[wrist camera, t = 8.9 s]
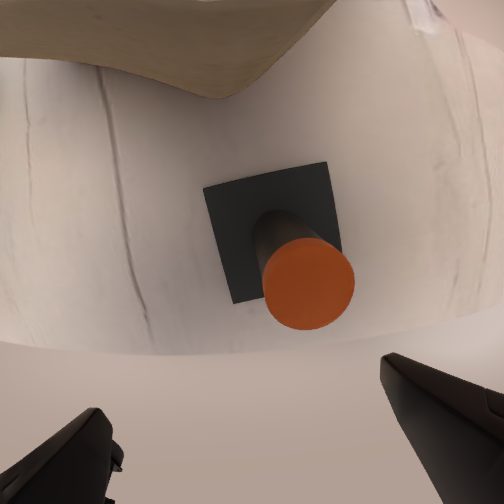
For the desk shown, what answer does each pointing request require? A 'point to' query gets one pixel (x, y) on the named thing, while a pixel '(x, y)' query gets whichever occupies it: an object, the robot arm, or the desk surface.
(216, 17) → the flower pot
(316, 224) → the slate mat
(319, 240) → the marker
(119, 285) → the desk surface
